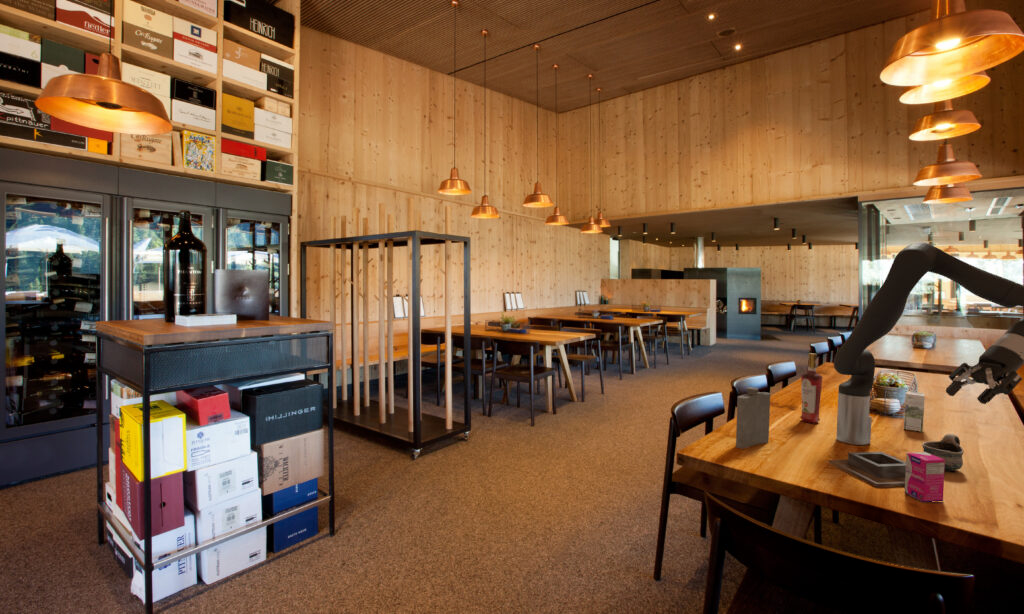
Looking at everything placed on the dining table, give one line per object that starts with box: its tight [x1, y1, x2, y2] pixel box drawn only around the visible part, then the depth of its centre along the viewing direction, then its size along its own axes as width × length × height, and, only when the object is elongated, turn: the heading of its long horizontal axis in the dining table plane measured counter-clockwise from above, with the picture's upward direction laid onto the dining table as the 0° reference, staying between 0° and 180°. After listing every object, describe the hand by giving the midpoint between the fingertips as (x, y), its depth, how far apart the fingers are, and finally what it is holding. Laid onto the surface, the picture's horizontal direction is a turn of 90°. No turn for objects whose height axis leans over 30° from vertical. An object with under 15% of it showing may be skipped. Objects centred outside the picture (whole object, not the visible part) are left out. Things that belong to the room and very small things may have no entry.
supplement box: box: [904, 451, 946, 503], centre depth 128 cm, size 6×6×12 cm
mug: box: [922, 433, 965, 472], centre depth 149 cm, size 10×12×10 cm
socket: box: [828, 451, 906, 488], centre depth 144 cm, size 18×18×4 cm
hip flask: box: [735, 386, 771, 450], centre depth 169 cm, size 16×4×20 cm, turn 120°
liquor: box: [799, 352, 823, 424], centre depth 197 cm, size 7×7×28 cm
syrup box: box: [903, 390, 926, 433], centre depth 187 cm, size 6×6×14 cm
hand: (964, 397), depth 128 cm, fingers open, 8 cm apart
